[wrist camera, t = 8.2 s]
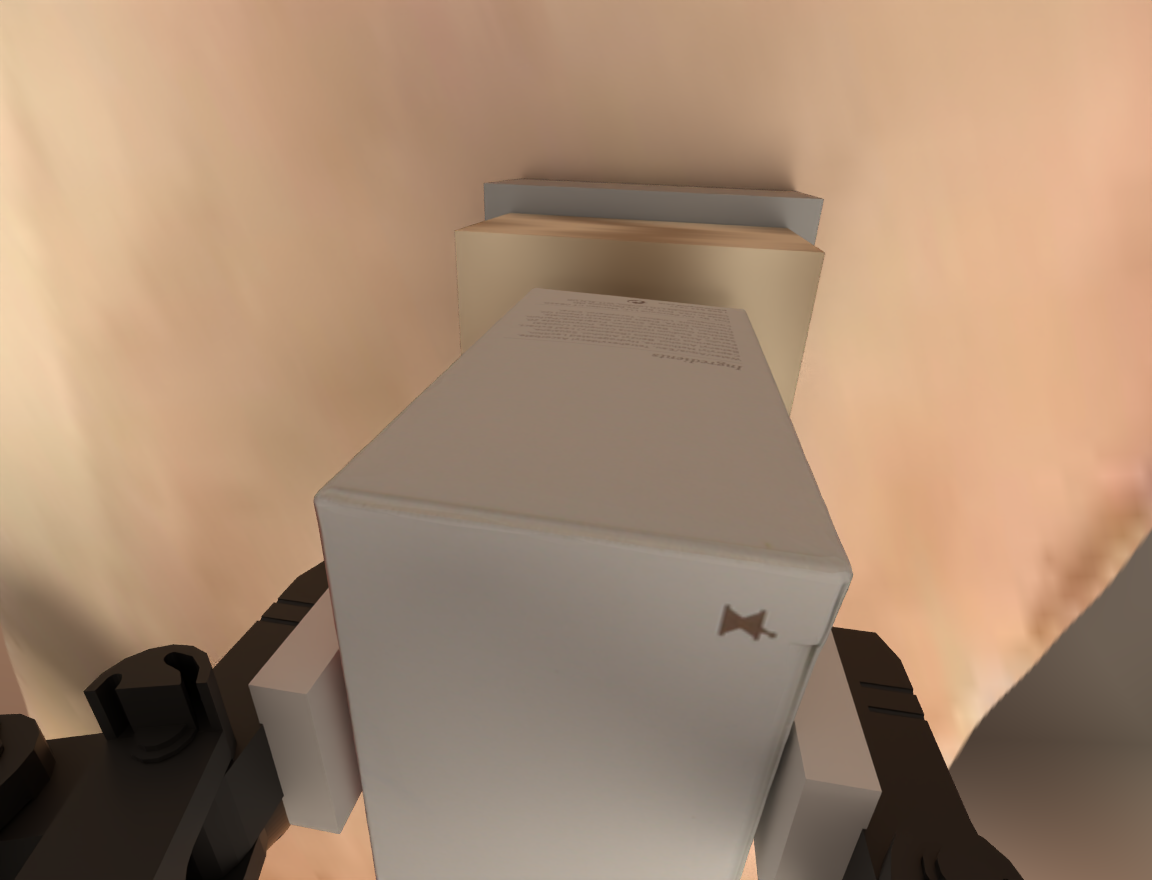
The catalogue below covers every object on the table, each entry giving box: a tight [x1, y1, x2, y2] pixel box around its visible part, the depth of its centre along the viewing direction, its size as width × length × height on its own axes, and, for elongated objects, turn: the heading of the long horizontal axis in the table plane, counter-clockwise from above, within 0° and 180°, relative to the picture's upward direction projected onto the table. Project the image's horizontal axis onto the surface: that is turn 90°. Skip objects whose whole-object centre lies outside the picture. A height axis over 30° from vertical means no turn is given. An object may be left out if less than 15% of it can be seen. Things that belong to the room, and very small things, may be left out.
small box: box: [314, 288, 853, 880], centre depth 12 cm, size 8×6×10 cm
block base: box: [484, 179, 824, 245], centre depth 26 cm, size 12×12×6 cm
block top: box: [455, 213, 825, 417], centre depth 21 cm, size 10×10×6 cm
